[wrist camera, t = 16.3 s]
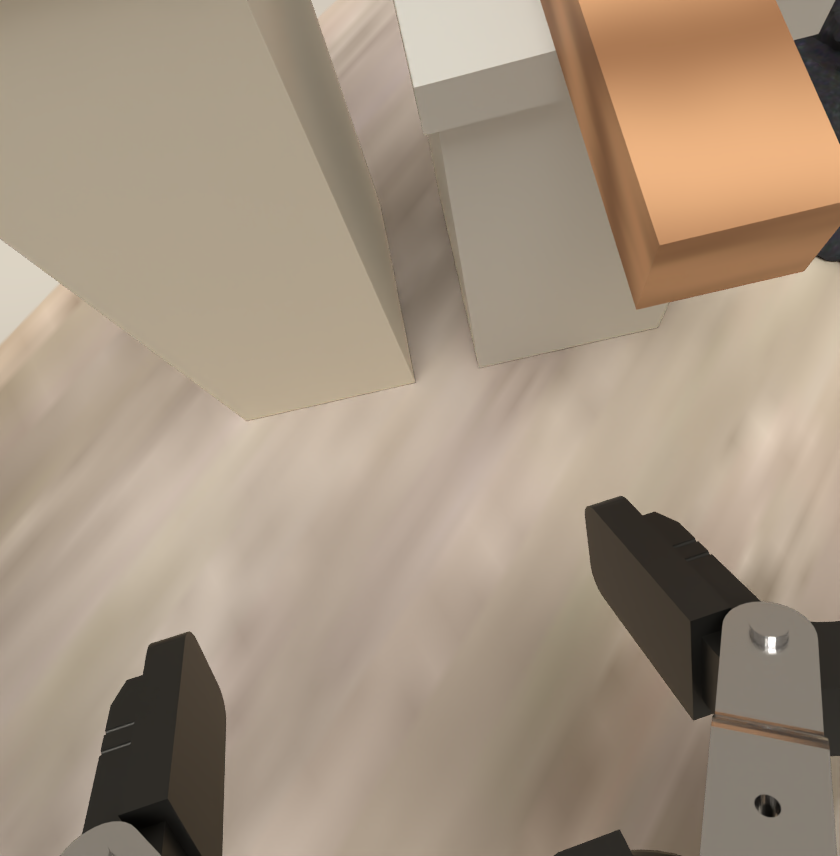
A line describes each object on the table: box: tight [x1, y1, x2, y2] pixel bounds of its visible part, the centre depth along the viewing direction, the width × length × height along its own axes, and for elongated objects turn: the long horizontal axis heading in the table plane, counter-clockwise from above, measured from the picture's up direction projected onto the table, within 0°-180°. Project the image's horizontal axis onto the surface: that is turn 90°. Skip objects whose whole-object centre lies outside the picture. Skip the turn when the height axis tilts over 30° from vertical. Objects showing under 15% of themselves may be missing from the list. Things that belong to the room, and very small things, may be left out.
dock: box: [393, 0, 835, 368], centre depth 33 cm, size 14×12×24 cm
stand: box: [0, 0, 415, 421], centre depth 30 cm, size 14×12×32 cm
